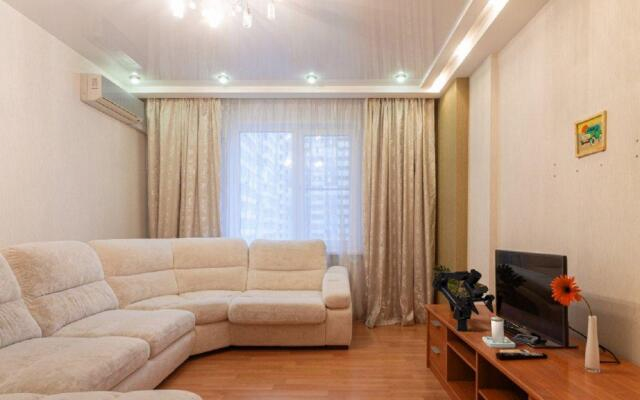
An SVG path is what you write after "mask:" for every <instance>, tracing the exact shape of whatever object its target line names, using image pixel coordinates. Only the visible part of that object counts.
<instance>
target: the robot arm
mask: <svg viewBox="0 0 640 400" xmlns="http://www.w3.org/2000/svg"><path fill="white" fill-rule="evenodd" d="M482 277H483V274H482V273H481V272H479V271H478V270H476V269H475V268H471V269H470V270H469V271H468V270H460V271H459V270H458V271H447V270H446V271H445V270H444V271H439V273H438V274H437V276H436V277H434V279H433V281H432V283H431V284H432V286H433V287H432V288H434V289H435V290H436V291H438V292H440V293H442V295H443V296H444V297H445V298H446V299H447V301H448V302H449V303H450V305H452V306H453V308H454V313H453V314H452V318H453V319H454V320H456V325H457V326H456V327H455V329H456V331H458V332H470V331H471V330H470V329H469V328H468V326H469V325H468V320H471V318H472V313H475V314H476V315H477V316H479V315H480V312H479V311H478V309H477V307H476V305H475V303H481V302H482V303H483V304H484V305H485V307H486V308H487V309H488V310H489V312H490V313H491V314H494V313H495V312H494V306H493V302H494V300H495V299H496V297H495V295H494V294H492V293H491V294H490V293H489V294H487V293H488V292H489V287H488V286H487V285H483V286H478V287H476V285H477V284H478V283H479V281H480V280H481V278H482ZM449 279H453V280H455V281H458V282H461V285H460V288H461V289H462V288H463V289H464V290H465V292H466V296H464V297H463V298H462V299H461V301H460V299H458V297H457V296H456V295H455V294H454V292H452V290H451V289H450V288H449ZM485 294H486V295H485ZM483 296H484V297H483Z"/></svg>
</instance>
